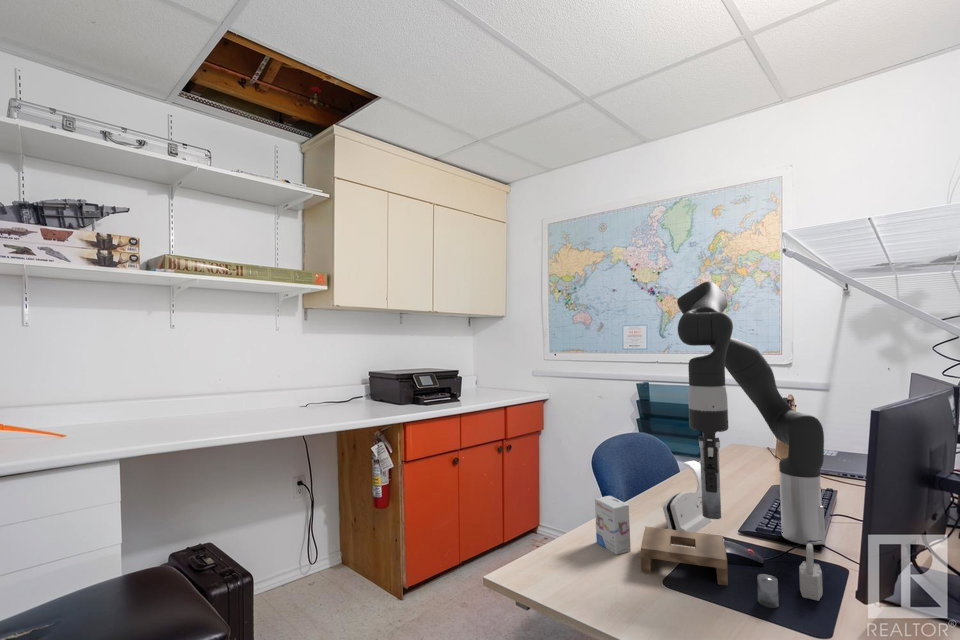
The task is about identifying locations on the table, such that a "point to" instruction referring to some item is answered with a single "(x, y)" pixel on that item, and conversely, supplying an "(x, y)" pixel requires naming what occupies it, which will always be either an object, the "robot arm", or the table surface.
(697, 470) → the headphone stand
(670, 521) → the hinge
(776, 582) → the short pin
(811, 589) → the padlock
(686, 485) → the table surface
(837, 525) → the table surface
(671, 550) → the wooden stand with hole
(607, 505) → the ink box
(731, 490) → the table surface
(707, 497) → the long pin
